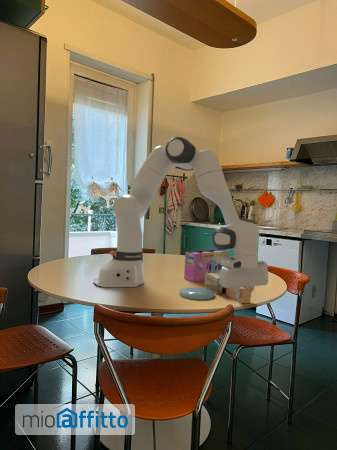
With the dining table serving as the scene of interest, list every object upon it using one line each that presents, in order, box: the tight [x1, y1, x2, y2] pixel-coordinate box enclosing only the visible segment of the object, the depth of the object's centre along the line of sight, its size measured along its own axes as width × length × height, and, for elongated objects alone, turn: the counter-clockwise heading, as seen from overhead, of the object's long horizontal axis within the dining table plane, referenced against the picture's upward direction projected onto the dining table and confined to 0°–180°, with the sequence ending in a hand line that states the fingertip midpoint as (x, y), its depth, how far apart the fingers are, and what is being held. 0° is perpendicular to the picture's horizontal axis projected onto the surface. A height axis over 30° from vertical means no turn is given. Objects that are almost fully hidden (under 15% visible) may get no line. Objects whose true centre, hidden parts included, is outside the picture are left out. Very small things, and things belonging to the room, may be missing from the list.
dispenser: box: [204, 273, 226, 295], centre depth 135 cm, size 9×11×7 cm
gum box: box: [183, 249, 229, 283], centre depth 159 cm, size 24×8×14 cm, turn 126°
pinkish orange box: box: [225, 287, 252, 304], centre depth 123 cm, size 3×12×5 cm, turn 22°
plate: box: [178, 286, 215, 301], centre depth 127 cm, size 14×14×1 cm
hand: (243, 297), depth 120 cm, fingers closed on pinkish orange box, 3 cm apart
